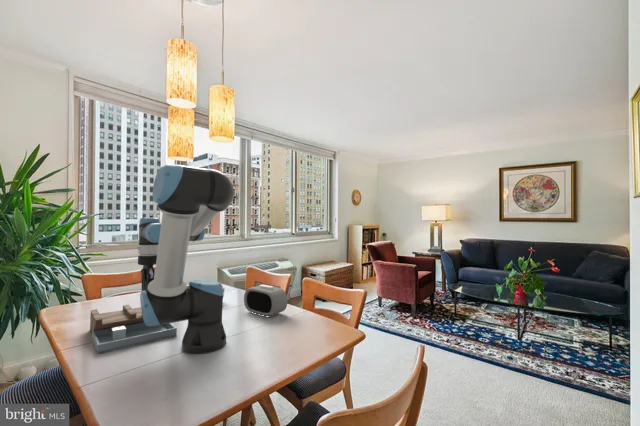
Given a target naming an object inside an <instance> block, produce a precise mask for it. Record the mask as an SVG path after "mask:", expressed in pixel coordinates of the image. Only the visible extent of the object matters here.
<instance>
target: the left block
mask: <svg viewBox="0 0 640 426" xmlns="http://www.w3.org/2000/svg"><path fill="white" fill-rule="evenodd" d="M125 338H126V328H125V326H119V327H113V328H111V340H112V341H116V340H120V339H125Z"/></svg>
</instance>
